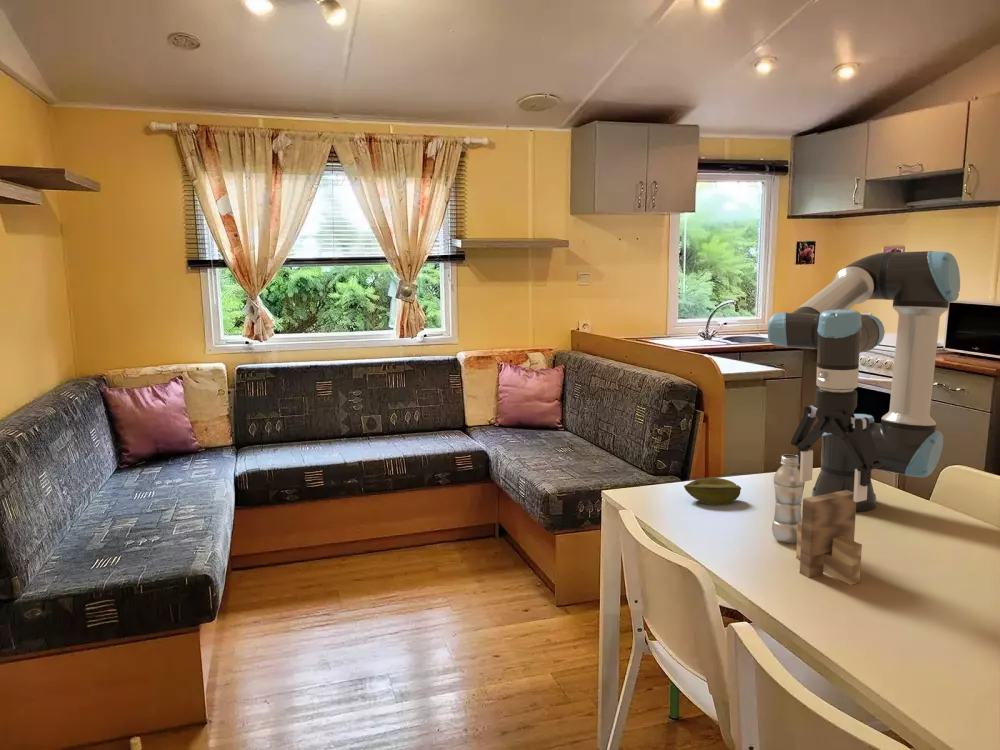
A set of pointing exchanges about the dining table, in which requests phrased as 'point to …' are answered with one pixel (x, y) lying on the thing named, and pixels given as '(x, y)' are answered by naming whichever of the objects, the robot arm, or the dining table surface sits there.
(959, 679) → the dining table surface
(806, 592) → the dining table surface
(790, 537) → the plastic bottle
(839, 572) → the oak slot board
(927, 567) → the dining table surface
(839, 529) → the wooden flat notched block
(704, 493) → the fruit
